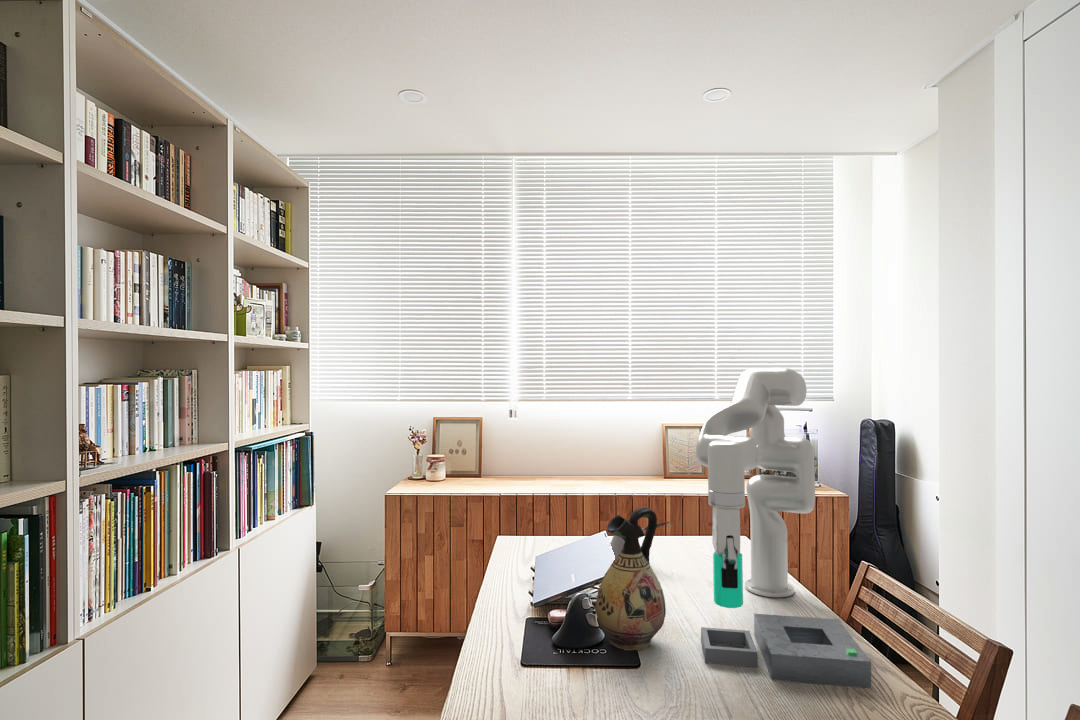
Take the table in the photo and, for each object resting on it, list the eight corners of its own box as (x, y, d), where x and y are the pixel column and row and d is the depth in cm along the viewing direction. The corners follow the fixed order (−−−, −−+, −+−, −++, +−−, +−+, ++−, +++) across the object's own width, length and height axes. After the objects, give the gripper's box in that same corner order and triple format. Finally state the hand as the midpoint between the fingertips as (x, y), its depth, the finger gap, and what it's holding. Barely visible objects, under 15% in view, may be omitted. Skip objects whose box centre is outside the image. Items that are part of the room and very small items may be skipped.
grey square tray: (701, 640, 134) (700, 627, 134) (749, 644, 132) (749, 630, 132) (705, 662, 124) (705, 648, 124) (757, 667, 122) (757, 652, 122)
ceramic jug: (620, 665, 123) (619, 519, 123) (583, 635, 137) (583, 504, 137) (686, 648, 130) (685, 510, 131) (645, 622, 144) (644, 497, 145)
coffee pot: (600, 563, 189) (600, 515, 190) (618, 554, 198) (617, 509, 199) (662, 576, 176) (662, 525, 177) (678, 566, 186) (677, 517, 186)
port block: (754, 635, 136) (754, 611, 136) (838, 641, 133) (838, 616, 133) (771, 679, 117) (771, 651, 117) (871, 688, 113) (870, 659, 113)
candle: (743, 598, 130) (742, 543, 130) (743, 609, 125) (742, 552, 125) (714, 595, 132) (713, 541, 132) (713, 606, 127) (712, 549, 127)
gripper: (705, 489, 138) (706, 568, 138) (712, 507, 121) (714, 596, 121) (738, 490, 136) (740, 569, 136) (751, 508, 120) (752, 598, 119)
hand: (727, 581), depth 129 cm, fingers closed on candle, 5 cm apart
